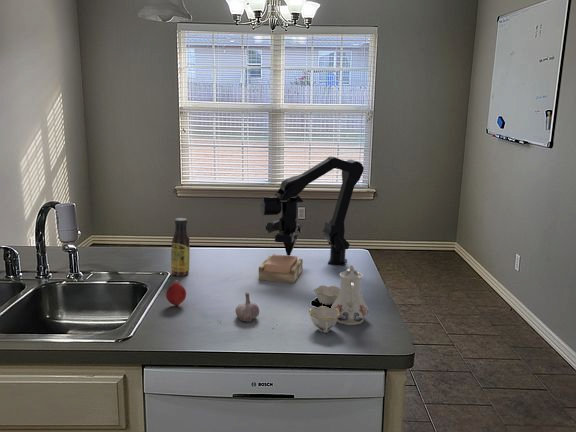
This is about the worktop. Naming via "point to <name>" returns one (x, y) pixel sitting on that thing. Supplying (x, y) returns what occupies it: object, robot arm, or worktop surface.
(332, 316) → the chinaware
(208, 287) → the worktop surface
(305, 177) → the robot arm
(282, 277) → the birch box
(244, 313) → the garlic bulb
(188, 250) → the sauce bottle
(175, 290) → the onion
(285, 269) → the cover plate
